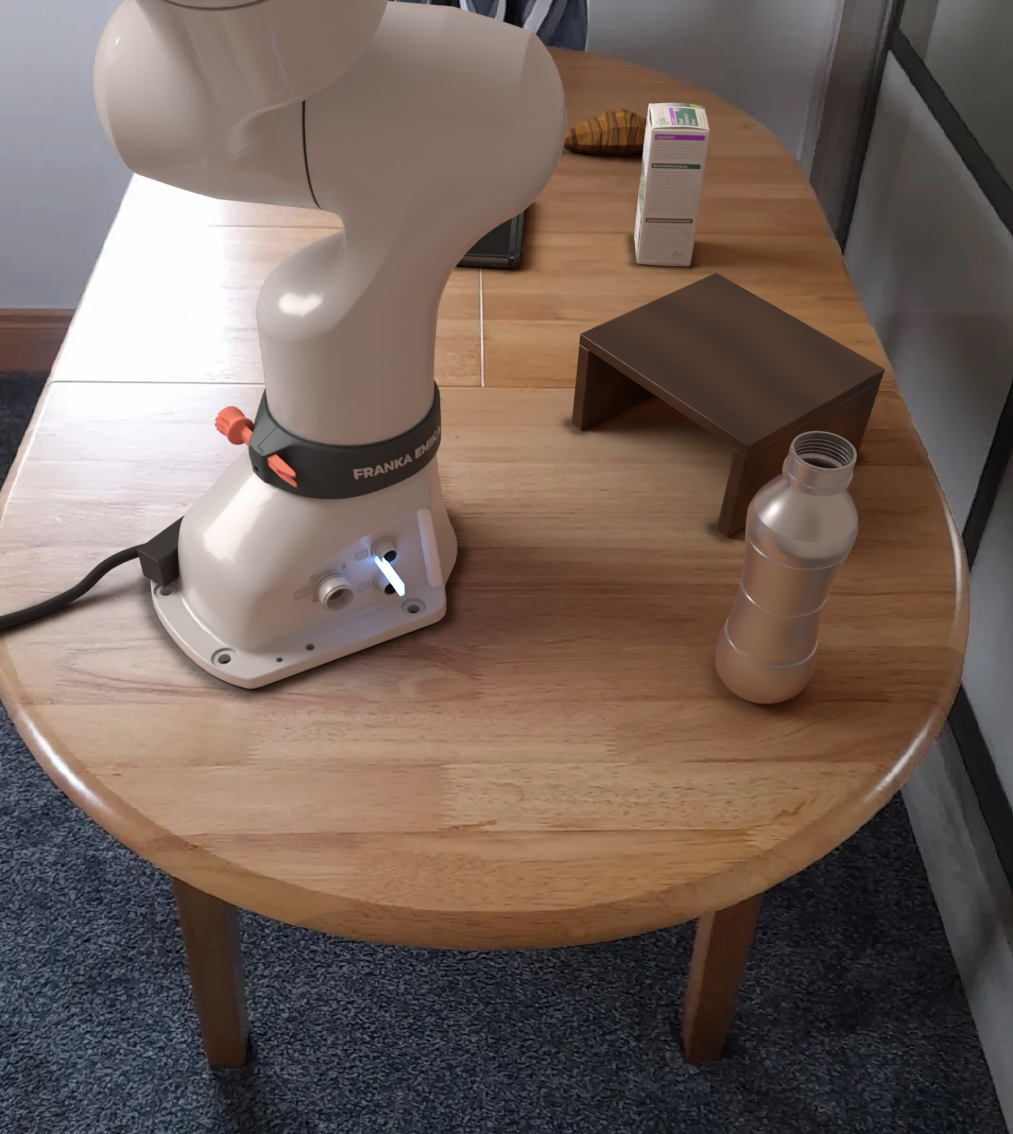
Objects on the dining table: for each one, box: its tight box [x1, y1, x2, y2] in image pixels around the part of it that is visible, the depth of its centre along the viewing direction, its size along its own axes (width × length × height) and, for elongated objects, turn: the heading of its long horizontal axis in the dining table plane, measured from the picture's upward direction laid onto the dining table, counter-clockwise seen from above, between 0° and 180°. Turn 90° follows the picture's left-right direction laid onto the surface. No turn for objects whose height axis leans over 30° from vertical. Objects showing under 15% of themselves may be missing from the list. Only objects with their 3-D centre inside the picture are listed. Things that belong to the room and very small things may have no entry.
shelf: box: [571, 272, 886, 538], centre depth 95 cm, size 16×18×9 cm
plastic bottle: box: [714, 431, 859, 705], centre depth 72 cm, size 6×7×20 cm
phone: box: [456, 210, 525, 269], centre depth 122 cm, size 8×1×15 cm
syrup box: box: [633, 102, 711, 267], centre depth 116 cm, size 6×6×14 cm
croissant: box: [563, 107, 647, 156], centre depth 136 cm, size 14×7×5 cm, turn 98°
